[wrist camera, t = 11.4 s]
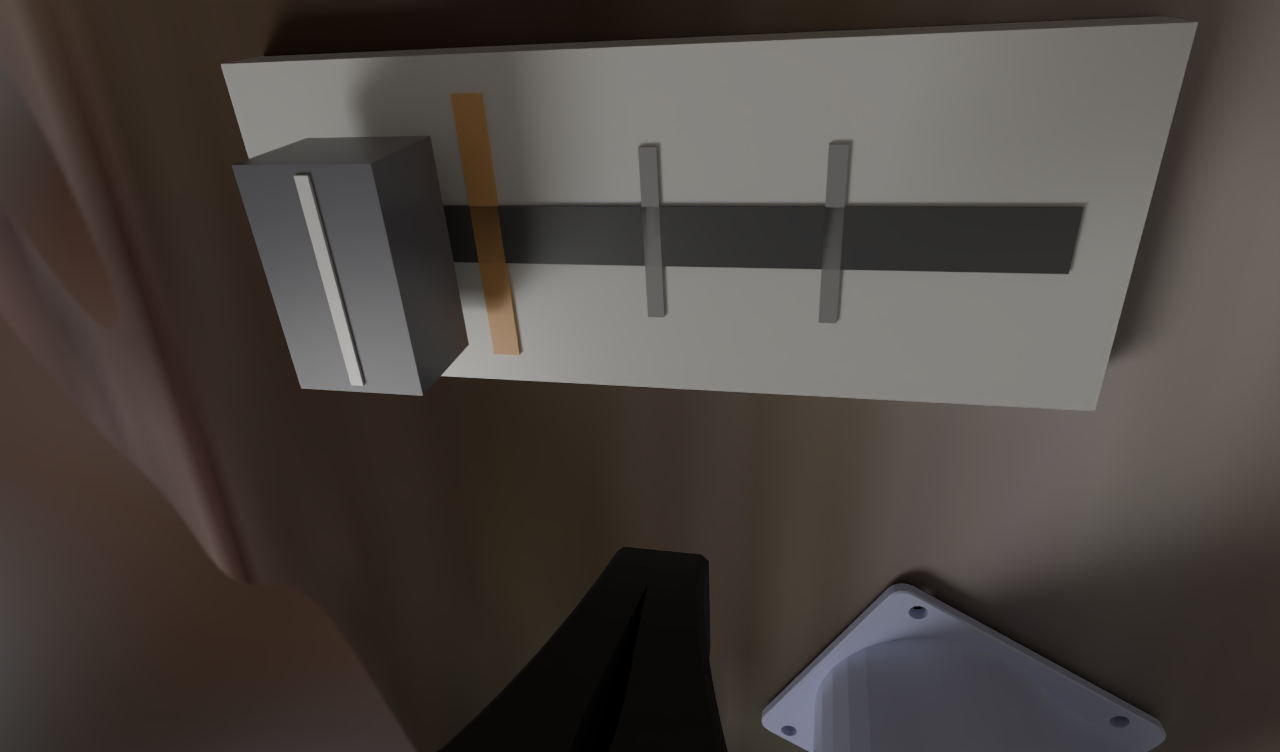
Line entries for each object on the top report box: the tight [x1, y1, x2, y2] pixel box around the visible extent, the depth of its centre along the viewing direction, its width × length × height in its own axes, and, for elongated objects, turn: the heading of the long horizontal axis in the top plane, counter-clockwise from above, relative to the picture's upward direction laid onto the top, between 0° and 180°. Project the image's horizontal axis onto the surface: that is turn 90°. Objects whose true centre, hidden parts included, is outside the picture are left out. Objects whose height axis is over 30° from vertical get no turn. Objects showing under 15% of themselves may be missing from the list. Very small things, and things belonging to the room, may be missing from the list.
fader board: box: [221, 16, 1198, 411], centre depth 18 cm, size 20×8×2 cm, turn 94°
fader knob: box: [232, 136, 469, 396], centre depth 17 cm, size 3×5×4 cm, turn 4°
